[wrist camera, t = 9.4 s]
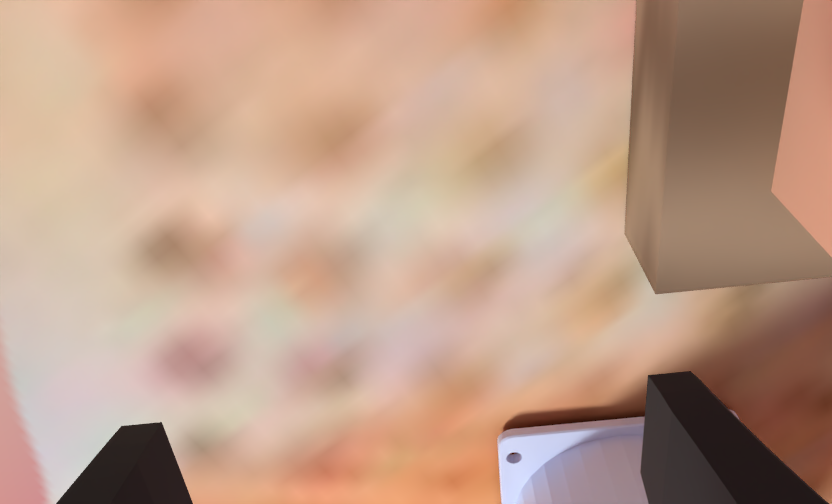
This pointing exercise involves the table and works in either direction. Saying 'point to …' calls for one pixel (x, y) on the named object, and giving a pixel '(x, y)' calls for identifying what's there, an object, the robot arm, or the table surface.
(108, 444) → the robot arm
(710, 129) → the taupe block
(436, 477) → the table surface
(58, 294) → the table surface
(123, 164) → the table surface
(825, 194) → the terracotta cube
